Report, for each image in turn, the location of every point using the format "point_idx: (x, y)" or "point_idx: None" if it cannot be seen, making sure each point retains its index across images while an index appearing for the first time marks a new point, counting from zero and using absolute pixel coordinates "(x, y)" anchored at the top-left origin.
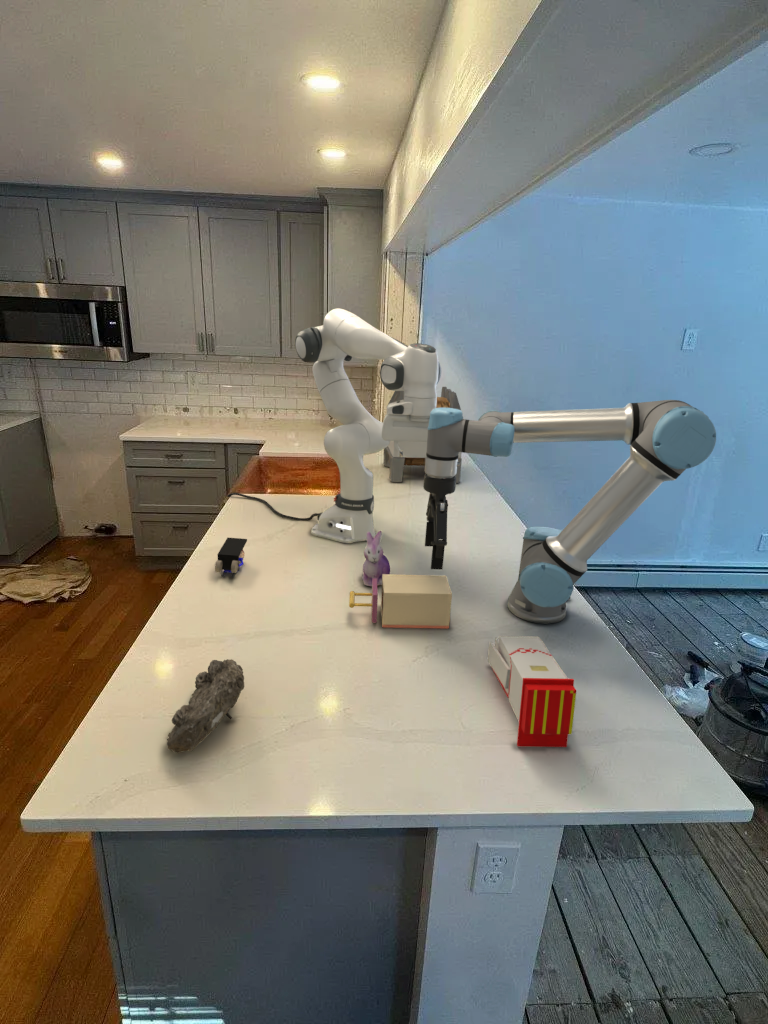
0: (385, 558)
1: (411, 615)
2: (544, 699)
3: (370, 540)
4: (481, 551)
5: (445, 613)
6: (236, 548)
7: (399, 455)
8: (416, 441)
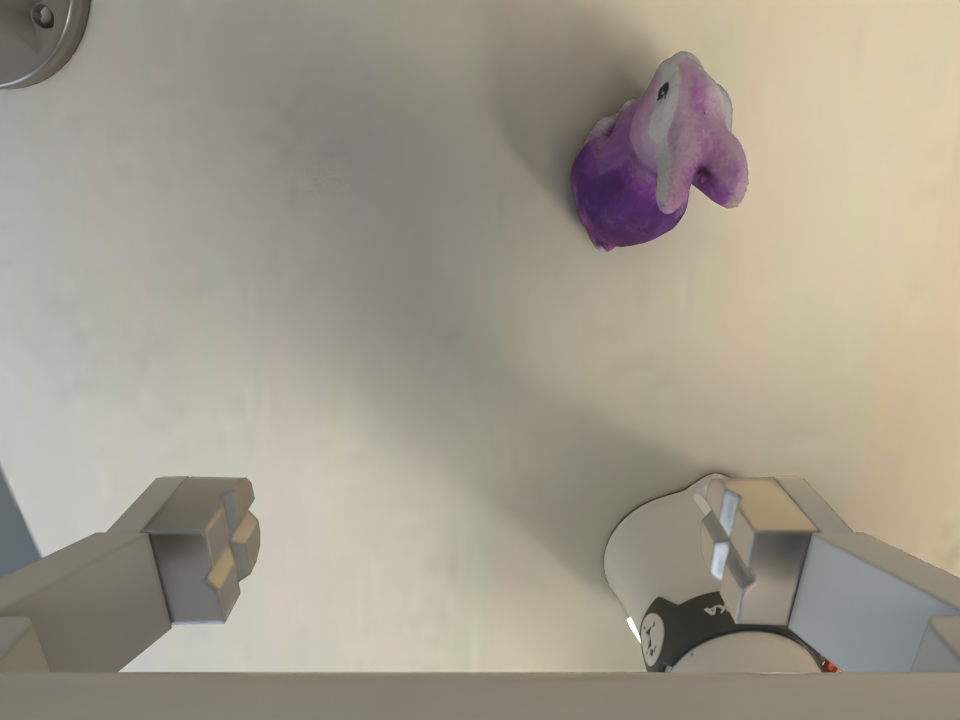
0: (603, 190)
1: None
2: None
3: (720, 135)
4: (212, 461)
5: None
6: None
7: (780, 483)
8: (534, 675)
